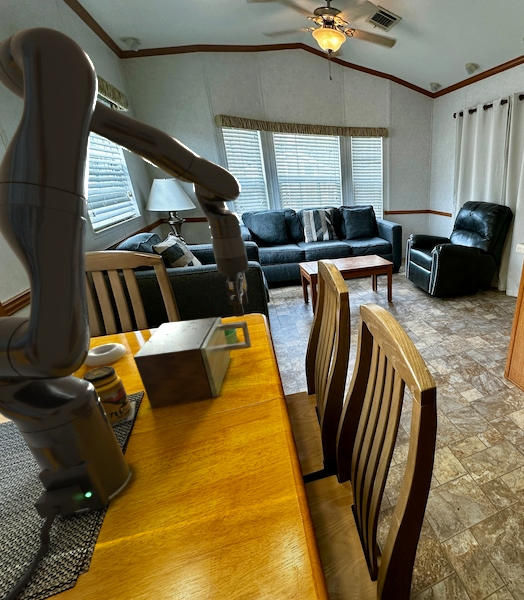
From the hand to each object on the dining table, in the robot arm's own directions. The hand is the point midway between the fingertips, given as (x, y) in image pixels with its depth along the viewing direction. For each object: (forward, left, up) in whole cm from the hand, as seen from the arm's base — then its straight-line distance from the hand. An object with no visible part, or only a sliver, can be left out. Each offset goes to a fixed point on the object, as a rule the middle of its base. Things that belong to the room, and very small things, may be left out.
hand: (242, 309), depth 91 cm
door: (-7, +3, -16) cm, 18 cm away
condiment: (-17, +28, -16) cm, 37 cm away
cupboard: (-7, +14, -16) cm, 22 cm away
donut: (+13, +42, -16) cm, 47 cm away
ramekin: (+13, +10, -16) cm, 23 cm away
